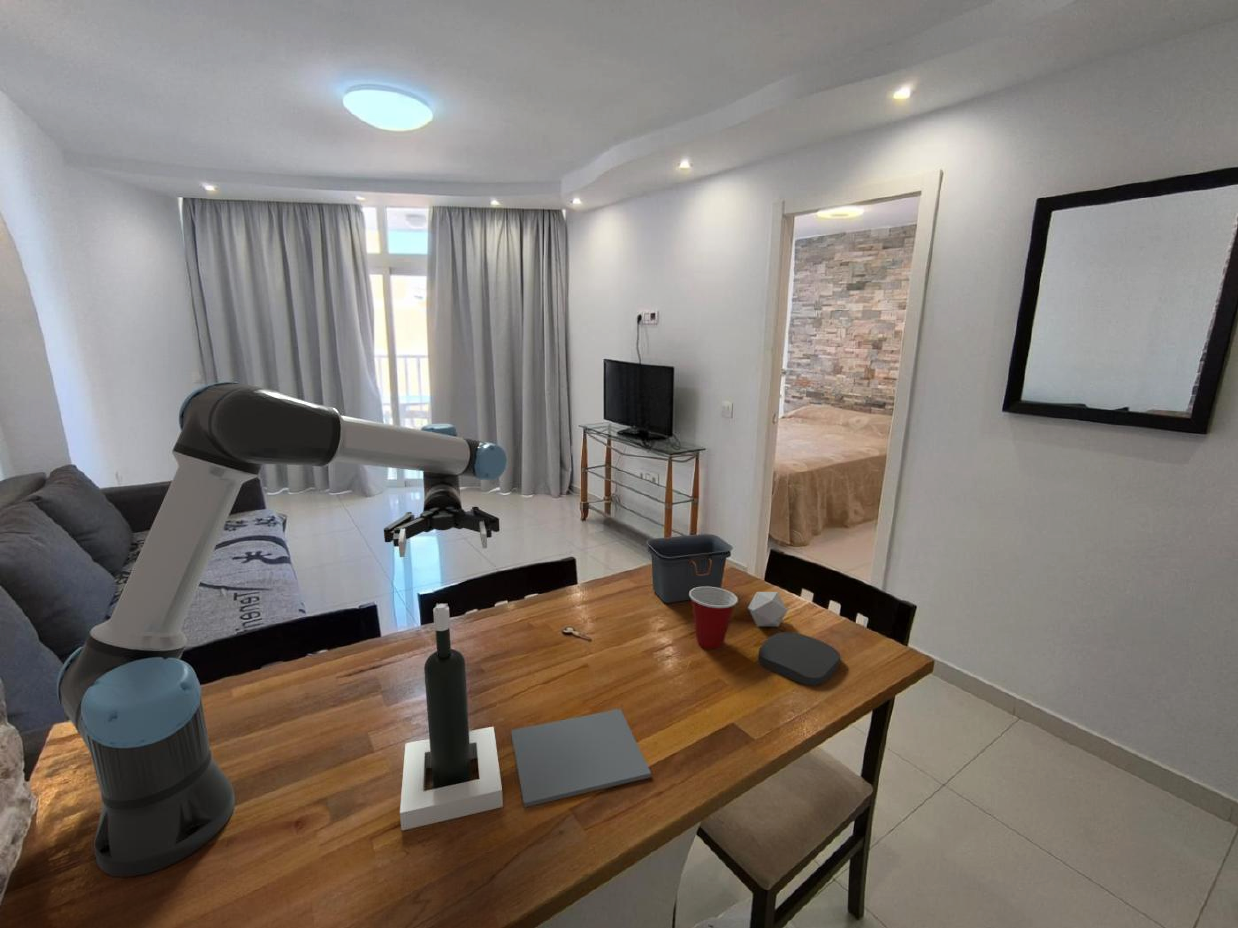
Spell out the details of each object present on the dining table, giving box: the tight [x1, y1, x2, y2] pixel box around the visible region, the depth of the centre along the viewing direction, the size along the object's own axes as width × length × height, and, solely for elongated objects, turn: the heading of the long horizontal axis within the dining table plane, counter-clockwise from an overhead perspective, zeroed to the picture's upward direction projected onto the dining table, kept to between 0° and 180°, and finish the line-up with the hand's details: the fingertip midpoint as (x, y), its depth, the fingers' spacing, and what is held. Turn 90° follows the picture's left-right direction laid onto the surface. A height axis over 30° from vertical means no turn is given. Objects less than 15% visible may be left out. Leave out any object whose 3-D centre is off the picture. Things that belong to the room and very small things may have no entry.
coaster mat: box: [510, 708, 652, 808], centre depth 92 cm, size 20×16×1 cm
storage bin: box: [645, 533, 734, 604], centre depth 147 cm, size 21×16×14 cm
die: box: [747, 591, 788, 628], centre depth 134 cm, size 8×9×10 cm
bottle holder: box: [399, 726, 504, 831], centre depth 86 cm, size 14×14×3 cm
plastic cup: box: [689, 586, 739, 650], centre depth 125 cm, size 11×11×12 cm
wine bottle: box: [423, 602, 472, 789], centre depth 83 cm, size 6×6×30 cm
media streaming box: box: [758, 631, 841, 687], centre depth 119 cm, size 15×15×3 cm
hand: (443, 545), depth 95 cm, fingers open, 13 cm apart
